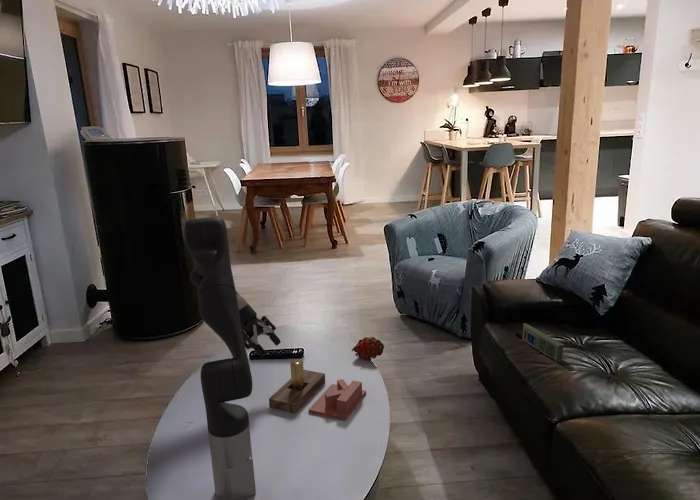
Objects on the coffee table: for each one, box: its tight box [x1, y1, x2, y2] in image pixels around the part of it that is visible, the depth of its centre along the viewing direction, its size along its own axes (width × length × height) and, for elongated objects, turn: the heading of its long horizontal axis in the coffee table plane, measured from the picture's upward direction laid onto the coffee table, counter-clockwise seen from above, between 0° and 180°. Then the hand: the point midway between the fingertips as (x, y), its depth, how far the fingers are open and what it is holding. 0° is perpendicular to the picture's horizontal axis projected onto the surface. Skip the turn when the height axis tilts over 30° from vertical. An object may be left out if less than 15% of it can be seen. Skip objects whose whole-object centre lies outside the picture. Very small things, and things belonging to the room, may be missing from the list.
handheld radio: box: [514, 323, 564, 362], centre depth 185 cm, size 7×3×25 cm
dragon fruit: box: [351, 336, 385, 361], centre depth 181 cm, size 8×8×12 cm
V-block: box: [308, 378, 367, 422], centre depth 153 cm, size 12×16×5 cm
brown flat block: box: [268, 369, 326, 414], centre depth 159 cm, size 9×20×3 cm, turn 156°
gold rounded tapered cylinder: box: [289, 359, 305, 391], centre depth 158 cm, size 4×4×11 cm
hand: (271, 349), depth 159 cm, fingers open, 8 cm apart
